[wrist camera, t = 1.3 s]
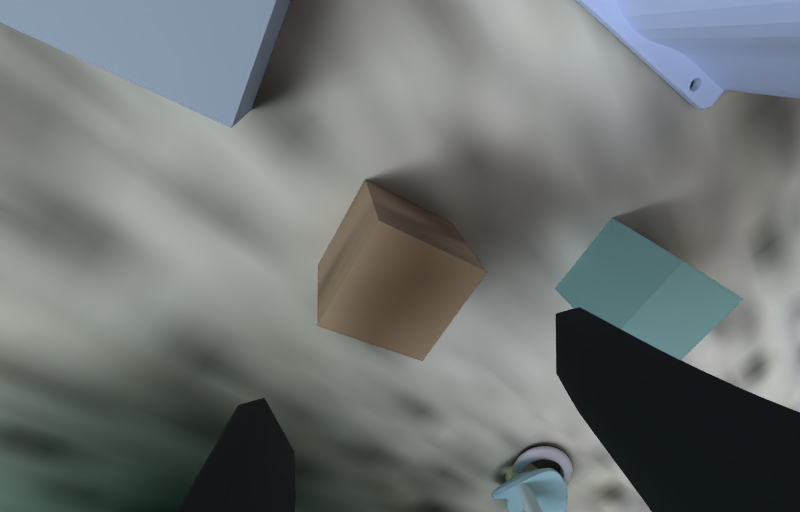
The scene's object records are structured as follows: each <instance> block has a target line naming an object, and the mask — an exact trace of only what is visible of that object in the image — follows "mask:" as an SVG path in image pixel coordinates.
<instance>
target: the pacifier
mask: <svg viewBox="0 0 800 512" xmlns="http://www.w3.org/2000/svg"><path fill="white" fill-rule="evenodd" d="M540 459H549V460H552V461H555V462H556V463H558V464H559V465H560V471H559V473H558V472H557V471H556V470H554V469H552V468H542V469H537V468H536V467H535V466H533V465H531V464H530V463H531V462H533V461H536V460H540ZM572 473H573V469H572V463H571V461H570V459H569V458H568V456H567V455H566V454H565V453H564V452H562V451H561V450H559V449H557V448H554V447H551V446H539V447H534V448H531V449H529V450H527V451H525V452H524V453H522V454H521V455H520V456H519V457H518V459H517V460H516V461H515V464H514V465H513V466H512V467H510V468H509V469H508V471H507V472H506V475H505V480H506V482H505V483H503V484H502V485H501V486H499V487H498V488H497V489H496V490H494V491H493V492H492V493H491V495H492V499H507V500H506V503H507V509H508V512H522V511H523V509H524V510H525V512H565V510H566V506H567V489H566V486H567V484H568V483H569V481H570V479H571V477H572Z"/></svg>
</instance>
